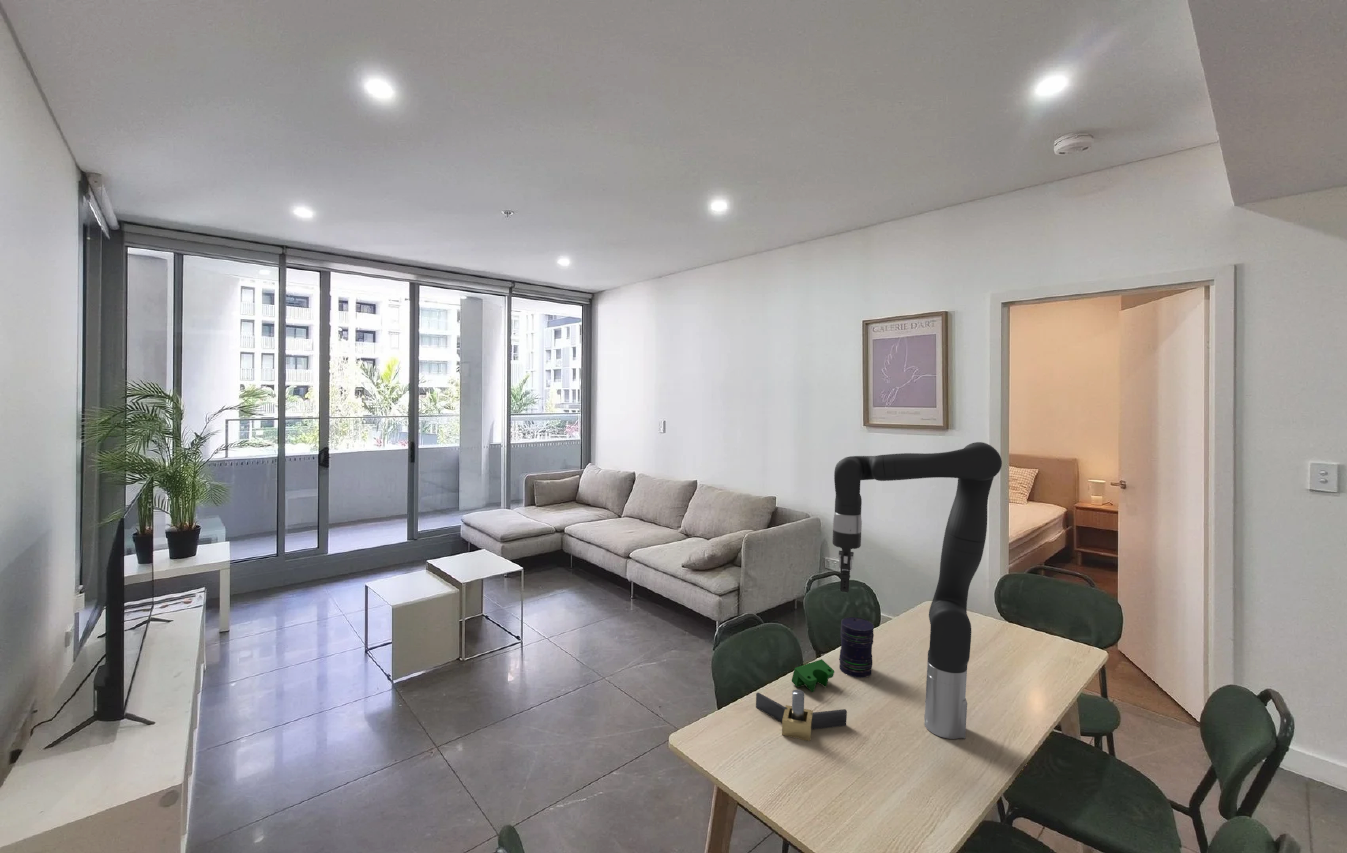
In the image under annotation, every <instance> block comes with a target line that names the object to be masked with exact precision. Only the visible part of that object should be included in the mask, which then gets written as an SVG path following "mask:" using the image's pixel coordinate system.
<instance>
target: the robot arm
mask: <svg viewBox="0 0 1347 853" xmlns="http://www.w3.org/2000/svg"><path fill="white" fill-rule="evenodd" d="M1002 466H1003V460H1002V458H1001V455H1000V453H999V451H998V450H996V448H995V447H994V446H992V445H991V444H988V443H986V442H982V441H981V442H980V441H977V442H972V443H969V444H967V445H966V446H964V447H963V448H960V449H956V450H951V451H945V452H934V453H922V452H921V453H914V452H913V453H911V452H906V453H905V452H904V453H891V454H890V453H889V454H888V453H887V454H880V455H853V456H846V457H844V458H842V459H840V460H839V461H838V462H837V463H836V465H835V467H834V474H833V476H834V478H833V479H834V491H835V497H834V498H835V499H834V514H833V520H832V522H833V523H832V524H833V525H832V545H833V546H834V547H836V548H839V549H841V550H838V555H837V556H838V557H837V558H838V570H839V577H840V586H839V587H840V588H839V589H840V592H844V593H848V592H849V591H850V589H849V588H850V578H851V572H852V571H853V562H854V551H852V549H853V550H857V549H860V548H861V546H862V527H863V526H862V524H863V523H862V522H863V520H862V506H863V504H862V503H863V502H862V500H863V499H862V495H861V481H869V480H870V481H871V480H876V481H877V482H879V481H880V482H889V481H890V482H891V481H904V480H906V481H907V480H917V479H918V480H919V479H929V478H930V479H933V478H934V479H935V478H946V479H947V478H951V479H953V478H954V479H957V484H956V492H955V497H954V499H953V501H952V502H953V503H952V506H951V508H950V512H949V515H948V518H947V521H946V525H945V526H946V527H945V530H944V531H945V532H944V535H943V539H942V540H943V541H942V547H941V548H942V549H941V555H940V563H939V565H940V566H939V577H938V581H937V585H936V588H935V591H934V595H933V597H932V601H931V603H930V606H929V610H928V619H929V623H930V631H929V633H930V634H929V649H928V651H927V662H926V664H927V665H926V666H927V667H926V680H925V684H926V685H925V700H924V702H925V704H924V714H923V715H924V722H923V725H924V727H925V728H926V729H927V730H928V731H929V732H931V733H932V734H934V735H935V736H937V737H940V738H944V739H948V740H949V739H950V740H956V739H966V731H967V715H968V714H967V712H968V701H967V698H966V697H967V696H966V695H967V694H966V692H967V676H968V664H969V661H970V657H971V642H972V624H971V621H970V618H969V616H968V611H967V610H968V599H969V598H968V596H969V589H970V585H971V582H972V580H973V578H974V576H975V574H976V572H977V570H978V569H979V566H980V565H981V561H982V558H983V555H984V550H985V546H986V545H985V544H986V538H987V532H988V529H987V528H988V500H989V495H990V492H991V488H992V484H993V480H994V478H995V477H996V476H997V475H998V474H999V473H1000V471H1001V469H1002Z"/></svg>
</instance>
